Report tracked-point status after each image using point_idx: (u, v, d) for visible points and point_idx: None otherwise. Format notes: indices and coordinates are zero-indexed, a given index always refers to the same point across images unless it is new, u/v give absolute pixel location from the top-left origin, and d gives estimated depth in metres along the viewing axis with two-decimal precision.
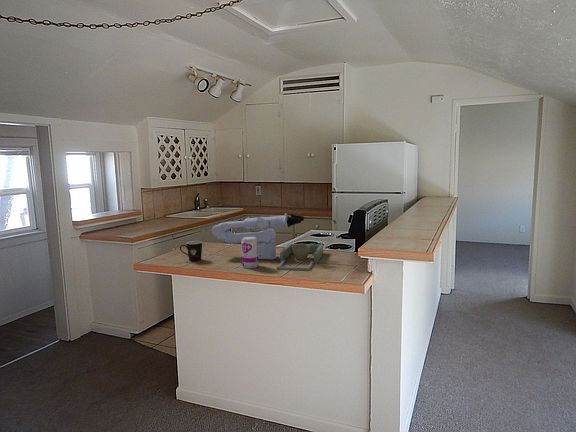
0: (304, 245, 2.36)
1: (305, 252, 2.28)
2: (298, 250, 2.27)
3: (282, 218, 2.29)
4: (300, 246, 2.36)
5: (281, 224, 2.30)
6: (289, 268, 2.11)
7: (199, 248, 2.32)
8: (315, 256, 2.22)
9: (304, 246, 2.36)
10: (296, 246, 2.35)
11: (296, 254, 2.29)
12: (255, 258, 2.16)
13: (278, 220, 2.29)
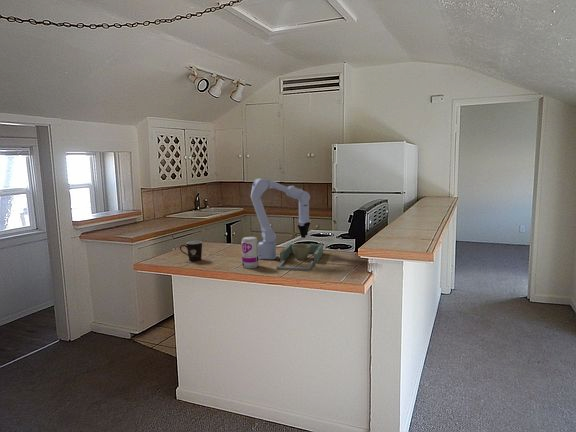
0: (304, 245, 2.36)
1: (305, 252, 2.28)
2: (298, 250, 2.27)
3: (306, 218, 2.37)
4: (300, 246, 2.36)
5: (300, 217, 2.37)
6: (289, 268, 2.11)
7: (199, 248, 2.32)
8: (315, 256, 2.22)
9: (304, 246, 2.36)
10: (296, 246, 2.35)
11: (296, 254, 2.29)
12: (255, 258, 2.16)
13: (304, 215, 2.36)
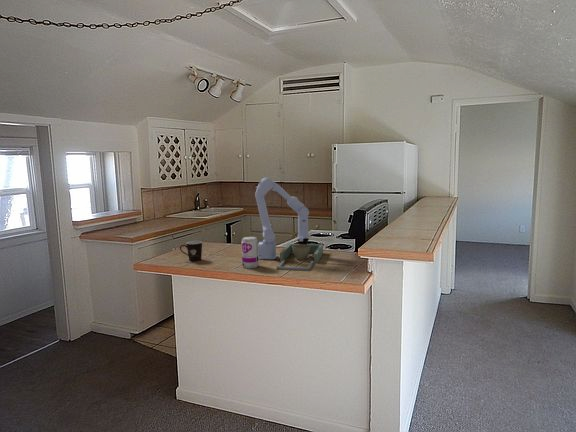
0: (304, 245, 2.36)
1: (305, 252, 2.28)
2: (298, 250, 2.27)
3: (305, 234, 2.35)
4: (300, 246, 2.36)
5: (299, 232, 2.35)
6: (289, 268, 2.11)
7: (199, 248, 2.32)
8: (315, 256, 2.22)
9: (304, 246, 2.36)
10: (296, 246, 2.35)
11: (296, 254, 2.29)
12: (255, 258, 2.16)
13: (303, 230, 2.34)
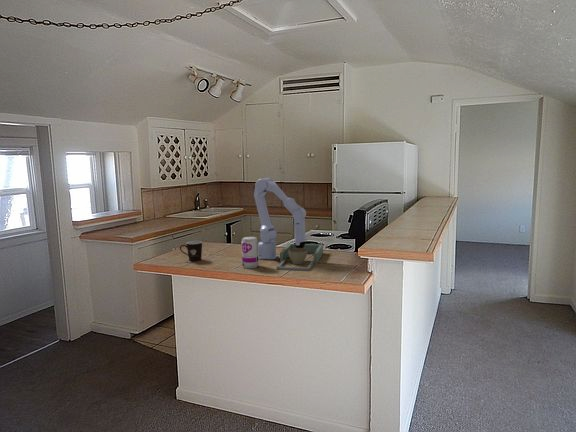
0: (301, 249, 2.26)
1: (302, 256, 2.18)
2: (294, 254, 2.18)
3: (302, 237, 2.25)
4: (297, 250, 2.27)
5: (296, 235, 2.26)
6: (289, 268, 2.11)
7: (199, 248, 2.32)
8: (315, 256, 2.22)
9: (301, 250, 2.26)
10: (292, 250, 2.26)
11: (292, 258, 2.19)
12: (255, 258, 2.16)
13: (299, 233, 2.25)
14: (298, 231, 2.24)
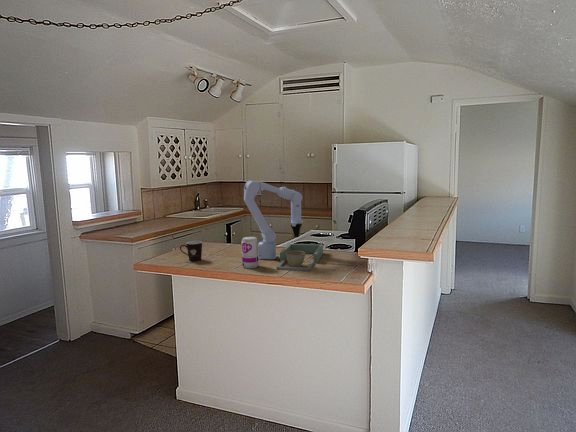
0: (299, 252, 2.20)
1: (299, 259, 2.13)
2: (292, 257, 2.12)
3: (298, 219, 2.35)
4: (294, 253, 2.21)
5: (292, 217, 2.36)
6: (289, 268, 2.11)
7: (199, 248, 2.32)
8: (315, 256, 2.22)
9: (299, 253, 2.20)
10: (290, 253, 2.20)
11: (290, 261, 2.14)
12: (255, 258, 2.16)
13: (296, 215, 2.35)
14: (294, 213, 2.35)
